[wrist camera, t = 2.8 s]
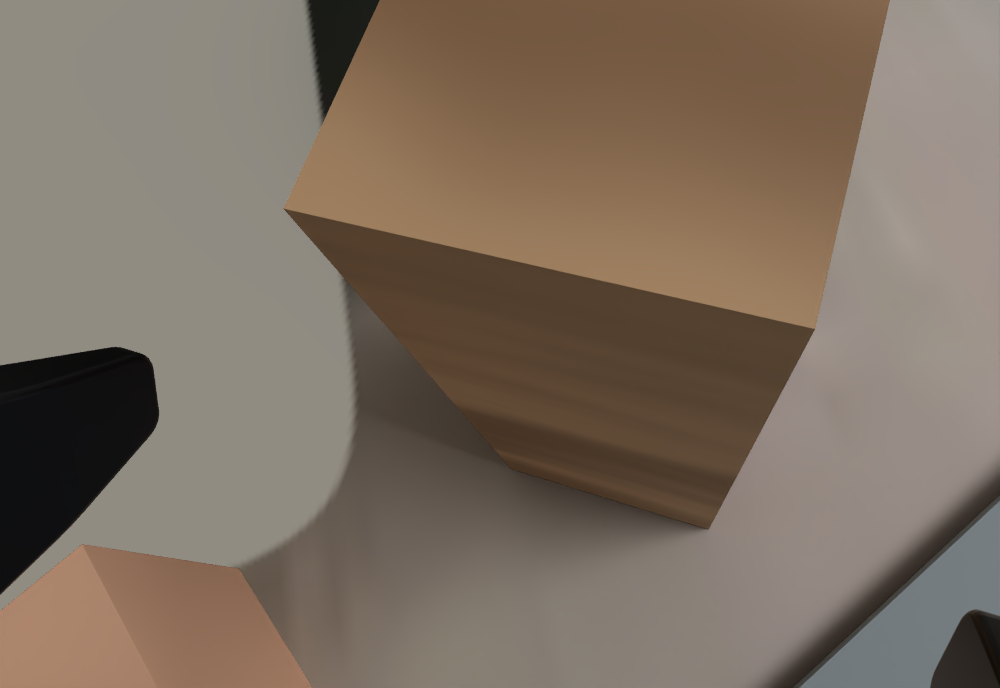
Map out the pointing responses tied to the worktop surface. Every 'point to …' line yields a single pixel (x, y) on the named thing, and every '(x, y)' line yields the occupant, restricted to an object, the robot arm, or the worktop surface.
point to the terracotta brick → (141, 627)
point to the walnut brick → (598, 218)
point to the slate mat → (920, 615)
